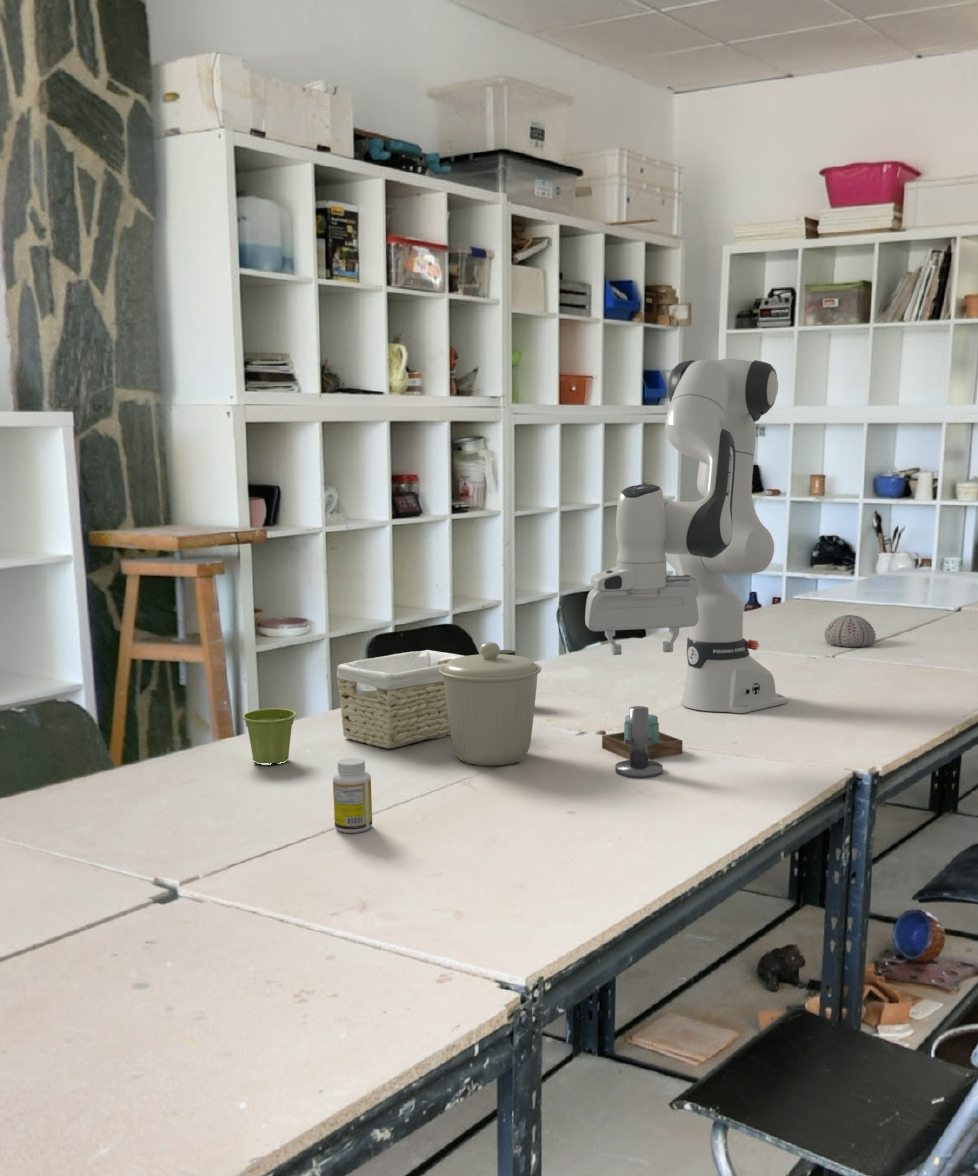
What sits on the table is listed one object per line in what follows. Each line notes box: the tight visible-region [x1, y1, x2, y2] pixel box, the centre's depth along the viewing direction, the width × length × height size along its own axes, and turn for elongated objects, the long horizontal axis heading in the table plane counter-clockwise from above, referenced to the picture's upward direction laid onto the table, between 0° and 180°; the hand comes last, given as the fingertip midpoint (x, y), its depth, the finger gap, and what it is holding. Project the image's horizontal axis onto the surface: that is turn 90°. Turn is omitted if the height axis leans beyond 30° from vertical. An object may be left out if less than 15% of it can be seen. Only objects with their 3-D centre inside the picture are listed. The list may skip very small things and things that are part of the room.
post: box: [614, 705, 664, 779], centre depth 203 cm, size 8×8×11 cm
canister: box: [439, 641, 542, 767], centre depth 212 cm, size 18×18×21 cm
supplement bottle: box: [332, 757, 373, 834], centre depth 176 cm, size 6×6×10 cm
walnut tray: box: [601, 731, 683, 760], centre depth 217 cm, size 10×10×2 cm
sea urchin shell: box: [823, 614, 877, 648], centre depth 321 cm, size 13×14×8 cm
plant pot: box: [242, 708, 297, 764], centre depth 214 cm, size 9×9×9 cm
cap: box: [623, 713, 660, 745], centre depth 217 cm, size 6×6×5 cm
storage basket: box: [336, 649, 465, 749], centre depth 231 cm, size 24×16×15 cm
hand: (642, 653), depth 215 cm, fingers open, 8 cm apart
